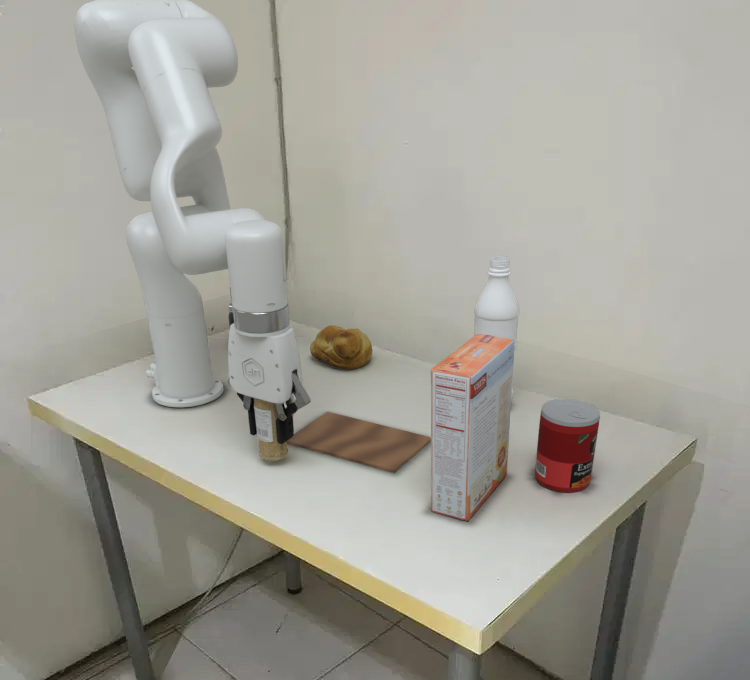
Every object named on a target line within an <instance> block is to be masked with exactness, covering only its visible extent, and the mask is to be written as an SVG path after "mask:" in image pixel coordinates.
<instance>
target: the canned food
mask: <svg viewBox="0 0 750 680" xmlns="http://www.w3.org/2000/svg"><path fill="white" fill-rule="evenodd" d="M539 417H540V418H539V423H538V433H537V445H536V455H535V467H534V475H535V479H536V481H537V482H538V483H539V485H541V486H543V487H544V488H546V489H549V490H551V491H554V492H559V493H575V492H580V491H582V490H585V488H587V487H588V485H589V483H590V482H591V480H592V474H593V468H594V459H595V453H596V447H597V440H598V434H599V428H600V420H601V411H600V409H599V408H598V407H596V406H595V405H593V404H592V403H589V402H587V401H584V400H580V399H576V398H557V399H551V400H548V401H546V402H545V403H543V404H542V406H541V410H540V416H539Z"/></svg>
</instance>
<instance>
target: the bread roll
mask: <svg viewBox="0 0 750 680" xmlns="http://www.w3.org/2000/svg"><path fill="white" fill-rule="evenodd" d="M372 346H373V345H372V341H371V340H370V337H368V335H367V334H366V333H365V332H363V331H361V330H360V329H359V328H345V329H344V328H343V327H342V326H339V325H328V326H325V327H324V328H323V329H320V331H319V332H318V333H317V334H316V336H315V338H314V340H313V341H312V342H311V343H310V348H309V352H310V354H311V356H312V357H313V359H315V360H317V361H318V362H322V363H324V364H326V365H328V366H330V367H332V368H334V369H341V370H354V369H358V368H360V367H363V366H364V365H366V364H367V363H368V361H370V359H371V358H372V354H373V347H372Z"/></svg>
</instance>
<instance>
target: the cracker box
mask: <svg viewBox="0 0 750 680" xmlns="http://www.w3.org/2000/svg"><path fill="white" fill-rule="evenodd" d="M514 346H515V340H514V339H508V338H501V337H494V336H490V335H484V334H476V335H475V336H474V335H473V336H472V337H471V338H470V339H468V340H467V341H466V342H465V343H463V344H462V345H460V347H458V348H457V349H455V350H454V351H453V352H452V353H450V354H449V355H448V356H446V357H445V358H444V359H442V360H441V361H440V362H438V363H437V364H436V365H435V366H433V367H432V368H431V369H430V437H431V442H430V511H431V512H432V513H436V514H440V515H443V516H447V517H450V518H454V519H458V520H461V521H465V522H469V520H470V519H471V518H472V517H473V516H474V515H475V513H476V512H477V511H478V510H479V508H481V506H482V505H483V504H484V502H485V501H486V500H487V499H488V498H489V497H490V496H491V494H492V493H493V492H494V491H495V490H496V488H497V487H498V486H499V484H500V483H501V482H502V481H503V480H504V479H505V477H506V476H507V473H508V458H509V442H510V425H511V409H512V400H511V395H512V386H513V379H514V378H513V377H514V362H515V361H514V360H515V351H514Z"/></svg>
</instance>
